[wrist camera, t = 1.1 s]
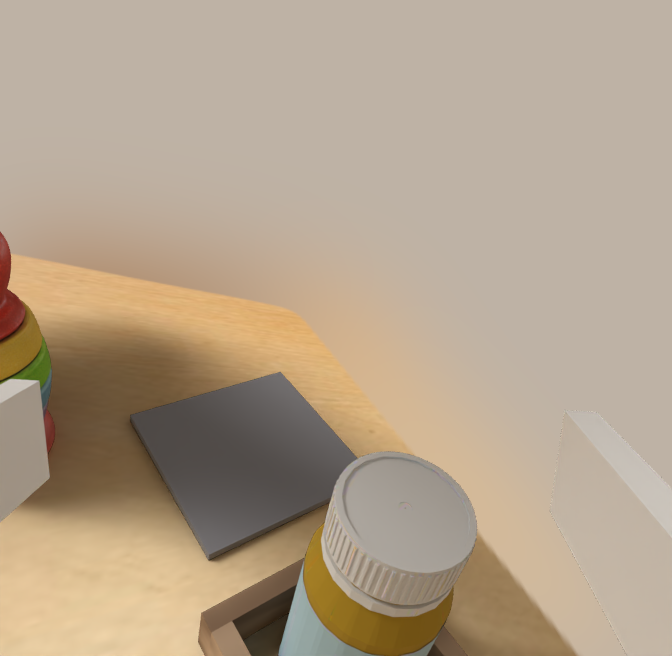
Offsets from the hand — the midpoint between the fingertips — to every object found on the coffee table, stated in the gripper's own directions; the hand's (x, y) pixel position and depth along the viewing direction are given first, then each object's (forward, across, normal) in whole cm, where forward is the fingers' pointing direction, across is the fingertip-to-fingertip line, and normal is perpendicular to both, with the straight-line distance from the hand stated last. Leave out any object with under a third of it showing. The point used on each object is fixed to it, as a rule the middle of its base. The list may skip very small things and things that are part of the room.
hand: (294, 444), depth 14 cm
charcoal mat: (+27, -7, -14) cm, 31 cm away
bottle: (+13, +1, -21) cm, 24 cm away
